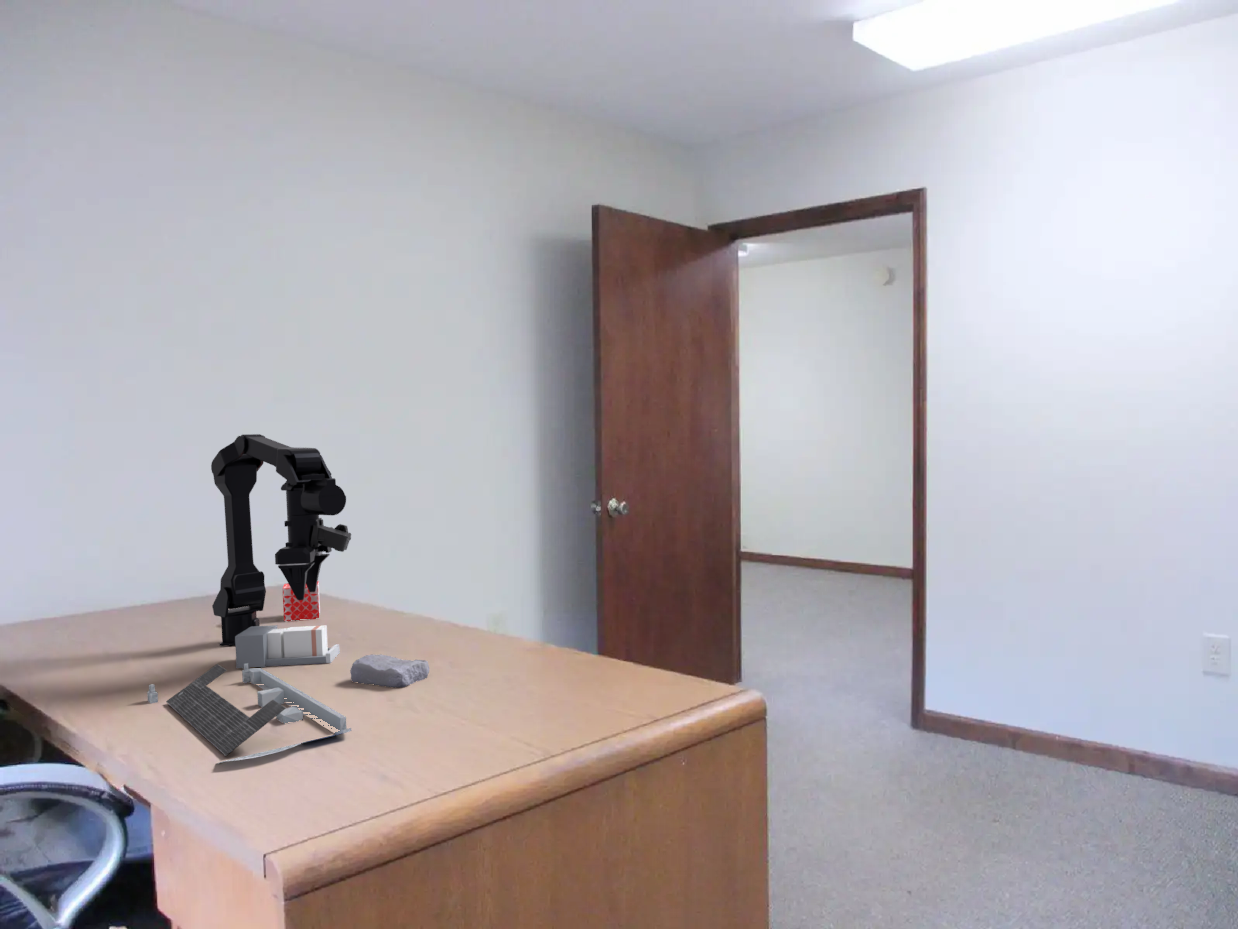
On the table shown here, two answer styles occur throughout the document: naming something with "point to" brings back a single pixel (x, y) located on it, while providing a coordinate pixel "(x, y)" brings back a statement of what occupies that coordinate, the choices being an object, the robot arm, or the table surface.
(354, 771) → the table surface
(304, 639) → the white banded block
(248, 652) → the grey frame stand
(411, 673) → the stone block
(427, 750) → the table surface
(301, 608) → the red patterned cube
